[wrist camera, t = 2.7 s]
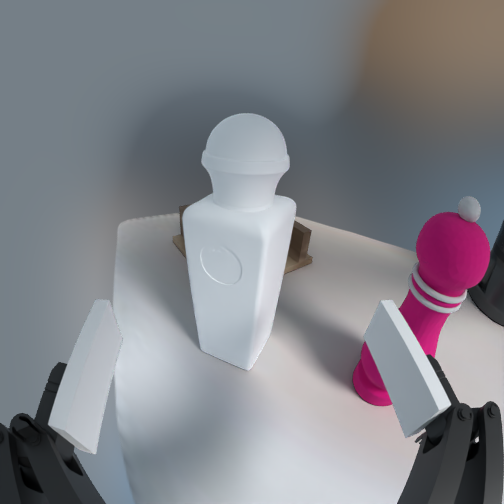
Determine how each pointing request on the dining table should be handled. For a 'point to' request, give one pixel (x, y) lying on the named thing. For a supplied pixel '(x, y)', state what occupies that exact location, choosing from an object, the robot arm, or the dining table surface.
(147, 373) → the dining table surface
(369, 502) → the dining table surface
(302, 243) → the walnut holder
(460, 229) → the pepper mill
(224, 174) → the white plastic bottle
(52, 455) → the robot arm
